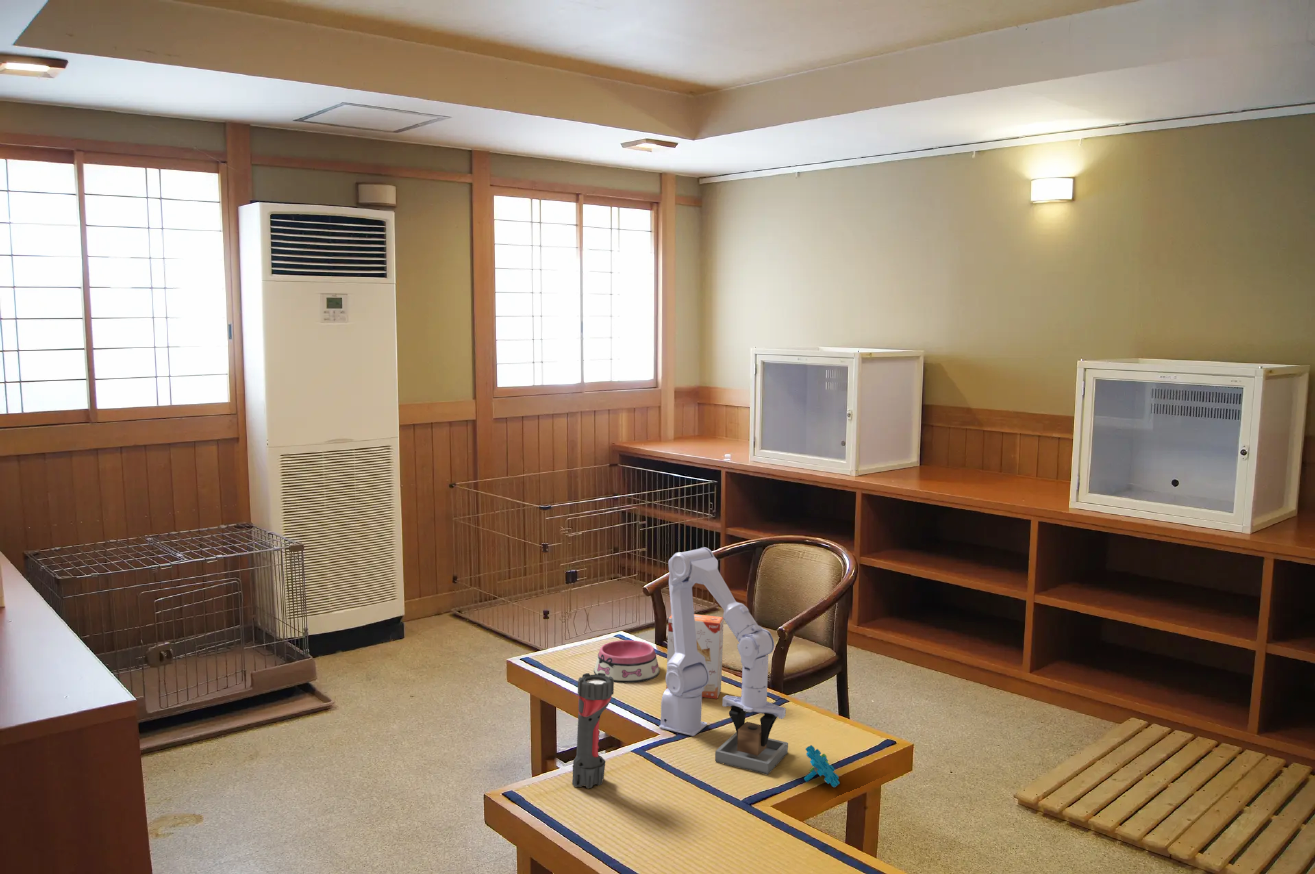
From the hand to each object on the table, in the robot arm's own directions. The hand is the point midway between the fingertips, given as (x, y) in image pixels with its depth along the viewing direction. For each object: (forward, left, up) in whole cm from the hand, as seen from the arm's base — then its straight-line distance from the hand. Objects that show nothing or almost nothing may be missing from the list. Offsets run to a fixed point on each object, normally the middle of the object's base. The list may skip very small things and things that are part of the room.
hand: (752, 741), depth 219 cm
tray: (0, 0, -4) cm, 4 cm away
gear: (+17, -3, -4) cm, 18 cm away
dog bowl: (-51, +33, -4) cm, 61 cm away
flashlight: (-25, -28, -4) cm, 38 cm away
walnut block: (0, 0, -2) cm, 2 cm away
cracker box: (-28, +28, -4) cm, 40 cm away
